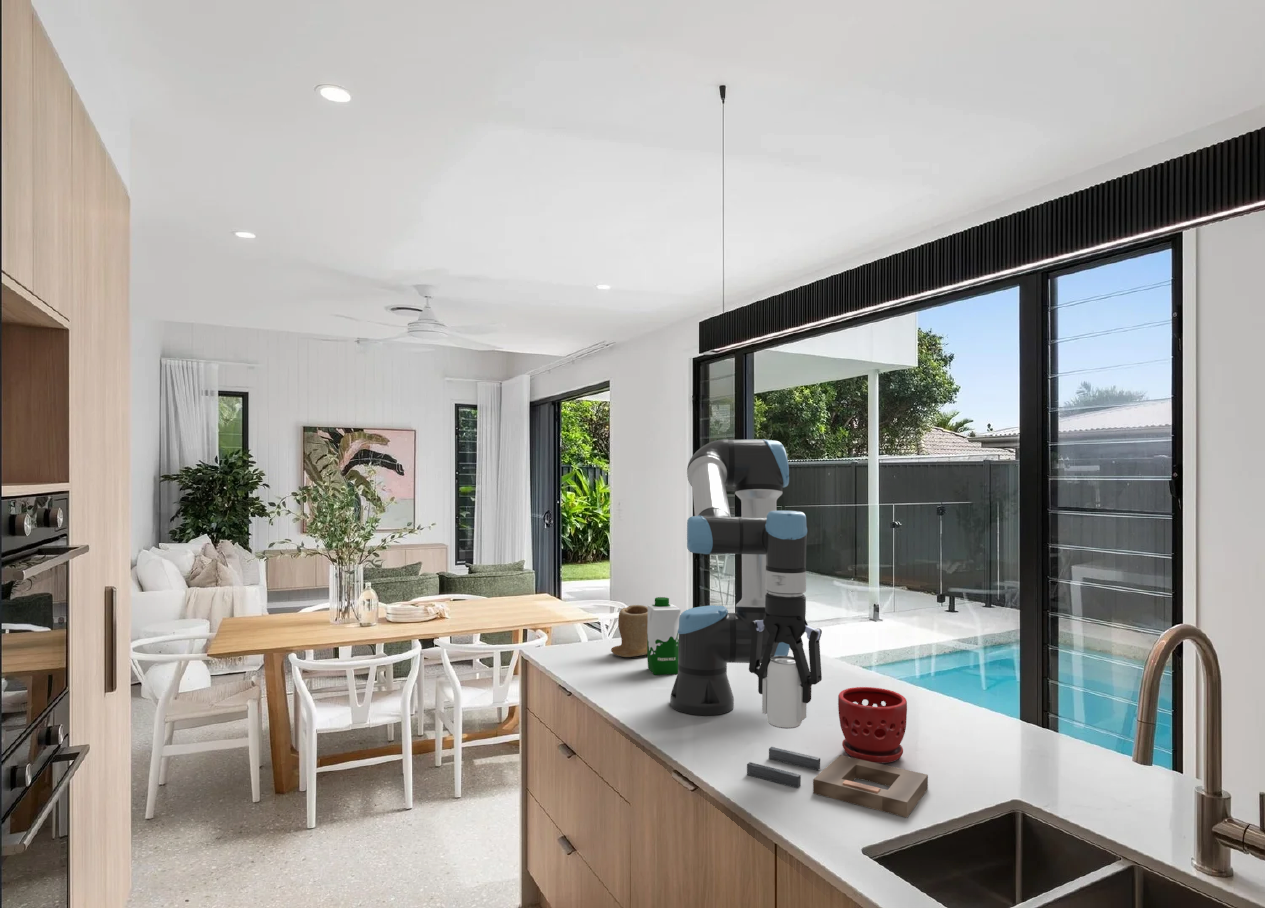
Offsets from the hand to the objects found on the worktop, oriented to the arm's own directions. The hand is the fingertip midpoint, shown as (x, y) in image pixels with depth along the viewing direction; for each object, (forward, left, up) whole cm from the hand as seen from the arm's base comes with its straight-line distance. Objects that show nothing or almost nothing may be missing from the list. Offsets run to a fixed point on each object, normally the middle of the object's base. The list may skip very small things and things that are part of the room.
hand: (784, 715), depth 144 cm
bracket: (0, 0, -10) cm, 10 cm away
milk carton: (-56, +47, -11) cm, 73 cm away
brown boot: (-72, +58, -11) cm, 93 cm away
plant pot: (+11, +18, -11) cm, 23 cm away
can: (0, 0, -2) cm, 2 cm away
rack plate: (+16, +1, -10) cm, 19 cm away
